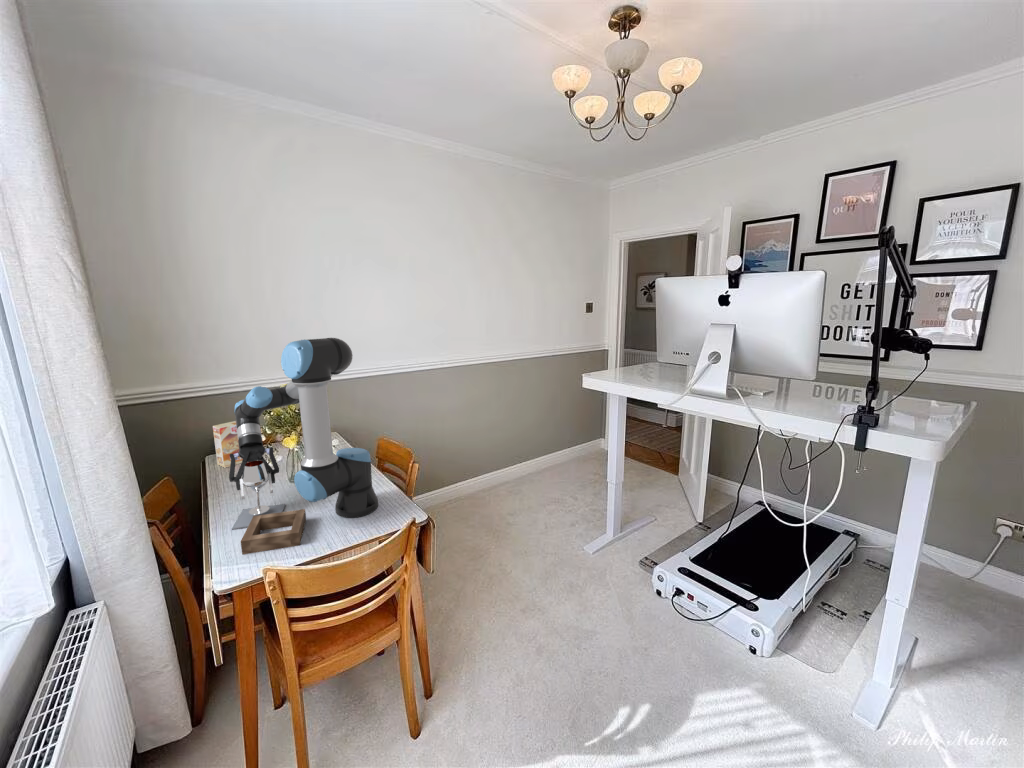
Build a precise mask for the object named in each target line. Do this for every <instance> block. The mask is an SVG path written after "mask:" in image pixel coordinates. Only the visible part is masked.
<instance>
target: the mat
mask: <svg viewBox="0 0 1024 768" xmlns="http://www.w3.org/2000/svg"><path fill="white" fill-rule="evenodd" d="M267 506H268V507H269V510H268V511H267V512H265V513H262V514H258V515H265V514H273V513H280V512H284V509H285V507H286V503H279V504H272V505H267ZM252 508H253V507H249V508H243V509H242V510H241V511H240V514H239V515H238V517H237V519H236V521H235V522H234V524H233V526H232V527H231V531H235V530H242V529H247V528H248V526H249V524H250V522H251V520H252V518H253V516H258V515H251V514H249V511H250V510H251V509H252Z"/></svg>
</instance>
